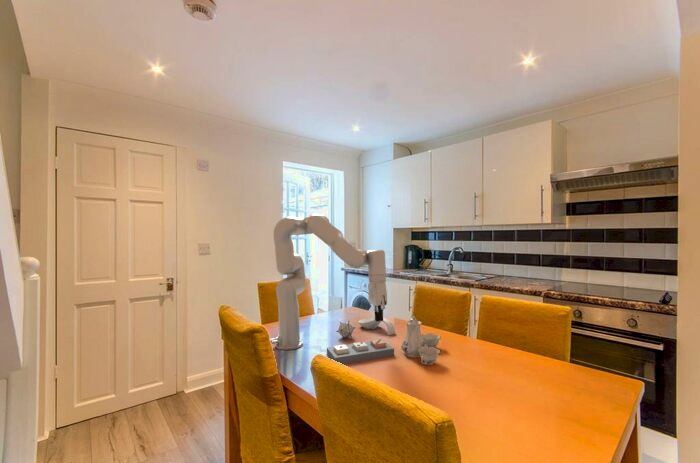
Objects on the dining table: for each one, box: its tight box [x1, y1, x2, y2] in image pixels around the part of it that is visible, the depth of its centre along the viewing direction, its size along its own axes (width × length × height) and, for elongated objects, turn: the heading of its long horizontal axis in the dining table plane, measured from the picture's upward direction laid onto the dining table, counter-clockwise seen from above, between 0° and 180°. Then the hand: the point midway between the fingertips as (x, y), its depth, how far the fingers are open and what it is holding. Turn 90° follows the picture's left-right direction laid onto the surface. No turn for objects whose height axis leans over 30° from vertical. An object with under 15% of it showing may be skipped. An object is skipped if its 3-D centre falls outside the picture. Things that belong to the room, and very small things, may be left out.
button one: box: [333, 343, 349, 354], centre depth 134 cm, size 5×5×3 cm
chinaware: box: [400, 315, 442, 366], centre depth 137 cm, size 28×17×17 cm, turn 169°
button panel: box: [326, 340, 395, 365], centre depth 137 cm, size 26×12×3 cm, turn 110°
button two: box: [352, 341, 368, 351], centre depth 137 cm, size 5×5×3 cm
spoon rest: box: [358, 317, 396, 336], centre depth 173 cm, size 24×12×7 cm, turn 38°
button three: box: [370, 338, 387, 348], centre depth 140 cm, size 5×5×3 cm
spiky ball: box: [335, 320, 356, 340], centre depth 160 cm, size 9×8×10 cm
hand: (379, 320), depth 140 cm, fingers closed
